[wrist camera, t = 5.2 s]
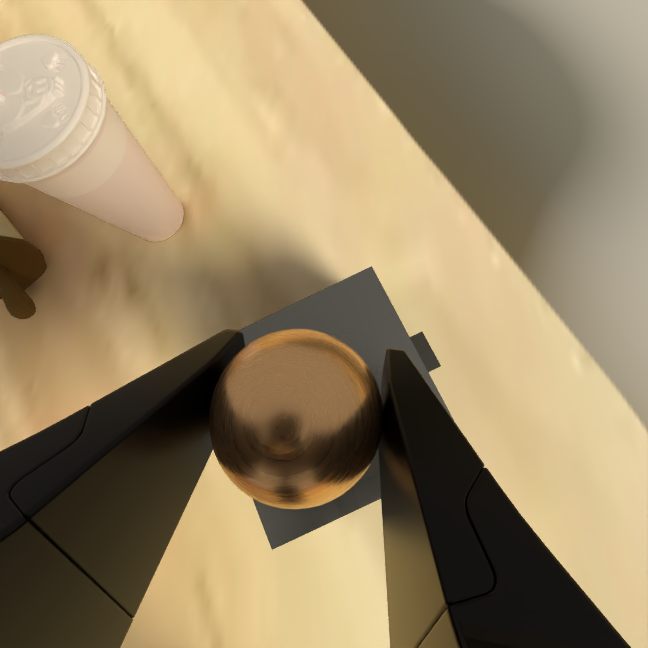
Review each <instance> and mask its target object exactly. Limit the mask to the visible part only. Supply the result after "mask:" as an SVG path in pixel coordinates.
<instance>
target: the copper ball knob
mask: <svg viewBox="0 0 648 648" xmlns="http://www.w3.org/2000/svg"><path fill="white" fill-rule="evenodd" d="M382 429H383V406H382V399H381V395H380V391H379V387H378V385H377V382H376V380H375V378H374V376H373V374H372V372H371V370H370V369H369V367H368V365H367V364H366V363H365V362H364V360H363V359H362V358H361V357H360V356H359V355H358V354H357V353H356V352H355V351H354V350H353V349H352V348H351V347H349V346H348V345H347V344H346V343H344V342H342V341H341V340H339V339H337V338H336V337H333V336H331V335H329V334H326V333H323V332H320V331H316V330H310V329H287V330H281V331H277V332H273V333H270V334H267V335H265V336H262V337H260V338H258V339H256V340H255V341H253V342H251V343H250V344H248V345H247V346H246V347H244V348H243V349H242V350H241V351H240V352H239V353H238V354H237V355H236V356H235V357H234V358H233V359H232V360H231V361H230V362H229V364H228V365H227V366H226V368H225V369H224V371H223V372H222V374H221V375H220V377H219V380H218V382H217V384H216V386H215V389H214V392H213V395H212V399H211V404H210V410H209V431H210V437H211V443H212V446H213V449H214V453H215V455H216V457H217V460H218V462H219V464H220V465H221V467H222V469H223V470H224V472H225V474H226V475H227V476H228V477H229V479H230V480H231V481H232V482H233V483H234V484H235V485H236V486H237V487H238V488H239V489H240V490H241V491H243V492H244V493H245V494H247V495H248V496H250V497H251V498H253V499H255V500H257V501H259V502H261V503H264V504H266V505H269V506H273V507H277V508H282V509H304V508H311V507H315V506H320V505H322V504H325V503H327V502H330V501H332V500H334V499H336V498H337V497H339V496H341V495H342V494H344V493H345V492H346V491H348V490H349V489H350V488H351V487H352V486H353V485H354V484H355V483H356V482H357V481H358V480H359V479H360V478H361V477H362V476H363V475H364V473H365V472H366V471H367V469H368V468H369V466H370V464H371V463H372V461H373V459H374V457H375V455H376V452H377V450H378V447H379V444H380V440H381V436H382Z"/></svg>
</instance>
